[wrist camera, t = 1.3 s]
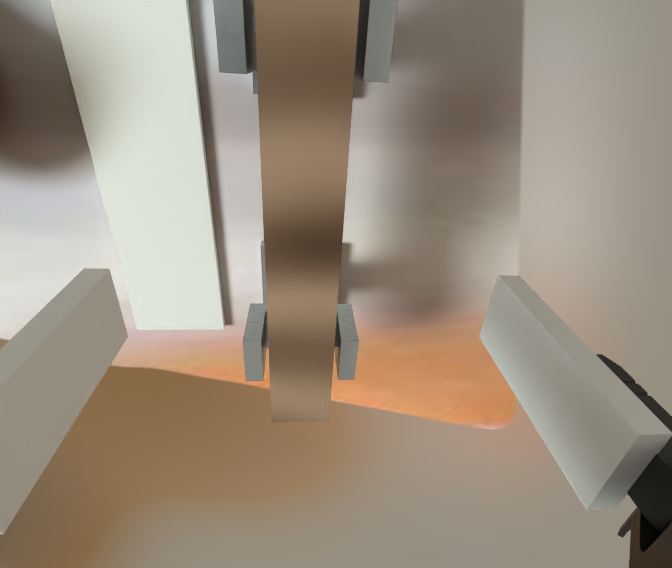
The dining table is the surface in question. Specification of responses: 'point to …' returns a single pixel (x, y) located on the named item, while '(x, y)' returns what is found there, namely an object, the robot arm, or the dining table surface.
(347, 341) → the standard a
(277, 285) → the rail
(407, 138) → the dining table surface
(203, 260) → the white plank
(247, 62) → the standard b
